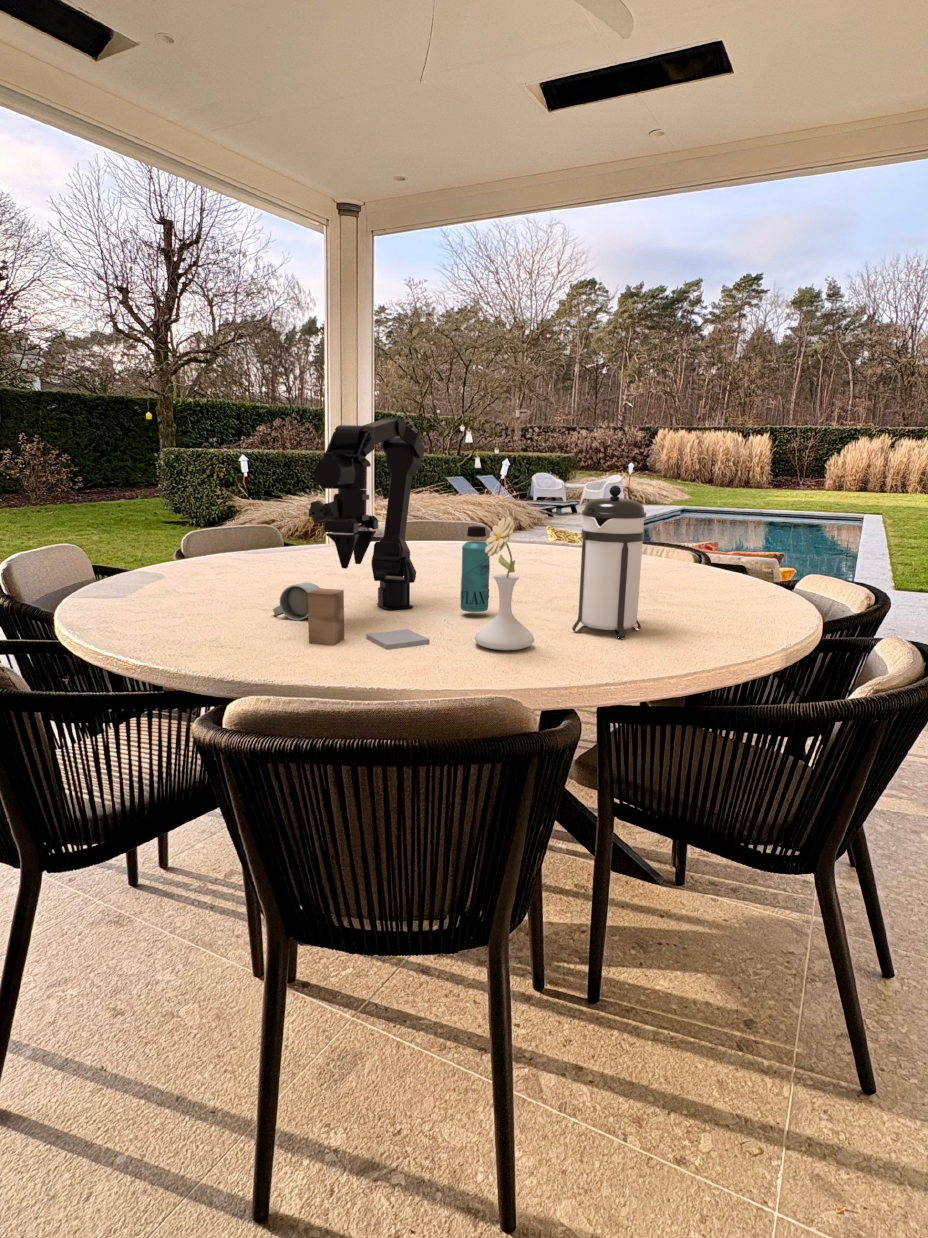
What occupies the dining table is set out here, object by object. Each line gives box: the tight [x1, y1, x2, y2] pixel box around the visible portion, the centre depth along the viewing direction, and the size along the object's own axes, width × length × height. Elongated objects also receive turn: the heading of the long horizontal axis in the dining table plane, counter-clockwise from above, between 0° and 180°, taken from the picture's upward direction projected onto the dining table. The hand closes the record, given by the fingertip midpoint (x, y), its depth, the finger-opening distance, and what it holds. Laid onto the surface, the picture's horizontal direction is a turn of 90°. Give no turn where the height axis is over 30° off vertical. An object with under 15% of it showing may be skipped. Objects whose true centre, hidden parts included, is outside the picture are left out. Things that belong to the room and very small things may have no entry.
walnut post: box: [307, 587, 345, 647], centre depth 148 cm, size 5×5×10 cm
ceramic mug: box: [272, 582, 320, 621], centre depth 170 cm, size 11×8×8 cm
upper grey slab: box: [366, 628, 430, 650], centre depth 150 cm, size 9×9×1 cm
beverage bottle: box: [459, 525, 491, 613], centre depth 172 cm, size 6×7×20 cm
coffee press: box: [572, 485, 647, 640], centre depth 160 cm, size 17×16×30 cm
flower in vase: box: [473, 516, 535, 651], centre depth 144 cm, size 13×11×25 cm
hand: (351, 566), depth 160 cm, fingers open, 9 cm apart
